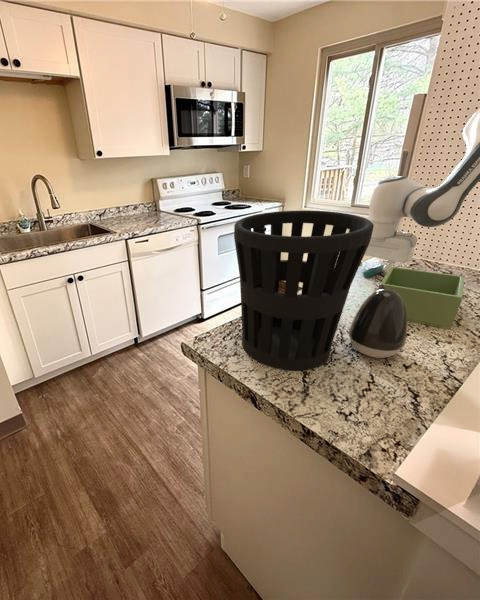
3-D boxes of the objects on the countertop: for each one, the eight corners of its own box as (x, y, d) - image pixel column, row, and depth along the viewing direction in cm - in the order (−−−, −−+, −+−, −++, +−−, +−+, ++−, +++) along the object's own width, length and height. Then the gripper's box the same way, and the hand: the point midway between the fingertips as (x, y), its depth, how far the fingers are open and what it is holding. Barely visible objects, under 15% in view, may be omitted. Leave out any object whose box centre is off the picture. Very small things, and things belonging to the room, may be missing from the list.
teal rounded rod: (377, 265, 111) (383, 262, 109) (381, 271, 110) (388, 268, 108) (359, 273, 106) (366, 269, 104) (364, 279, 106) (371, 276, 104)
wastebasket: (363, 345, 72) (396, 215, 60) (308, 397, 59) (335, 246, 47) (267, 311, 91) (276, 207, 78) (209, 345, 78) (209, 227, 65)
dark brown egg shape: (393, 341, 73) (411, 282, 66) (406, 368, 64) (428, 303, 58) (343, 335, 77) (355, 278, 70) (348, 359, 68) (363, 298, 62)
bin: (384, 292, 95) (391, 266, 91) (453, 305, 85) (464, 276, 81) (372, 312, 85) (380, 284, 81) (450, 329, 75) (462, 297, 71)
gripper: (423, 232, 95) (411, 274, 101) (354, 223, 111) (347, 260, 117) (413, 236, 92) (401, 279, 98) (344, 226, 109) (337, 264, 115)
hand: (371, 268), depth 108 cm, fingers open, 7 cm apart
